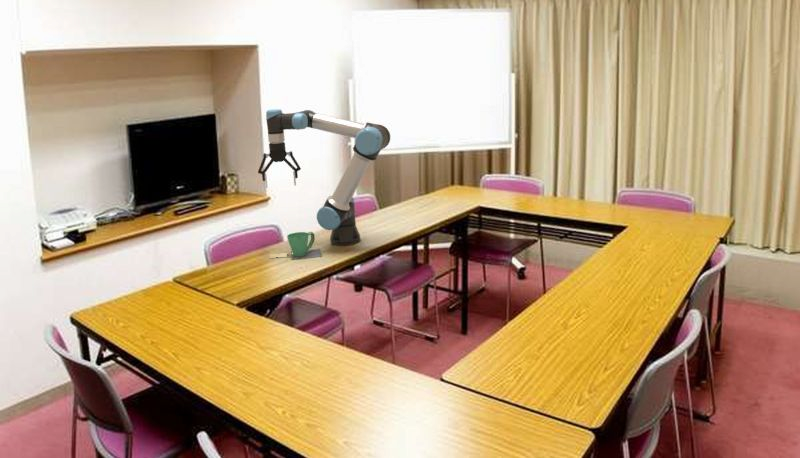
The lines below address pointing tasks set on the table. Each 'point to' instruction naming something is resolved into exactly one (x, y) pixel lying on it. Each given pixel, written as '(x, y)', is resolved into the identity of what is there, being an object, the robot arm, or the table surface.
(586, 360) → the table surface
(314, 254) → the slate mat
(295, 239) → the mug
